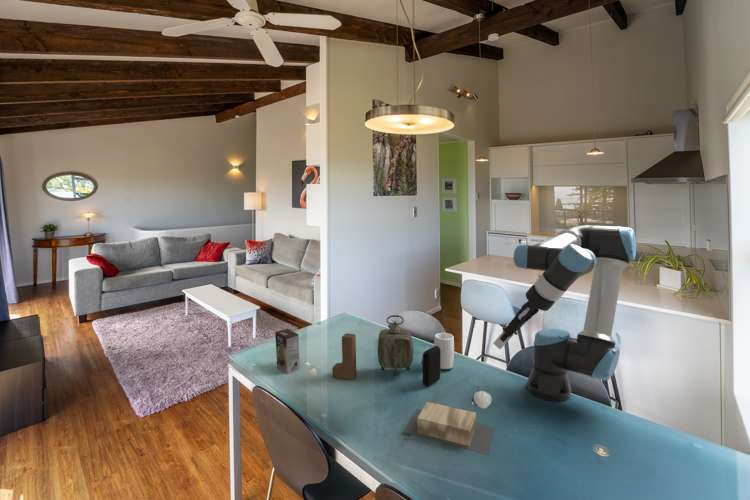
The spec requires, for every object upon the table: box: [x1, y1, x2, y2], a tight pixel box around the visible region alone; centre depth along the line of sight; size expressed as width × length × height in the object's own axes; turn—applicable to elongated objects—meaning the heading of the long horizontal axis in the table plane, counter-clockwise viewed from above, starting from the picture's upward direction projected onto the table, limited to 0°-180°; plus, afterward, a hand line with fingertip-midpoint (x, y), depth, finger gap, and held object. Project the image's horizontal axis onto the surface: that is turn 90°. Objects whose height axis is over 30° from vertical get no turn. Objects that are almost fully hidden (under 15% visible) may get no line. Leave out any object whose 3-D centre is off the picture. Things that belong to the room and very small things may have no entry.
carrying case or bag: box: [421, 345, 441, 388], centre depth 150 cm, size 11×3×15 cm, turn 134°
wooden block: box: [331, 332, 357, 381], centre depth 157 cm, size 9×4×18 cm, turn 72°
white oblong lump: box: [473, 390, 492, 410], centre depth 138 cm, size 12×6×6 cm, turn 163°
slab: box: [417, 401, 477, 446], centre depth 121 cm, size 5×10×16 cm
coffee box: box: [274, 328, 301, 375], centre depth 165 cm, size 9×6×16 cm
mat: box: [402, 408, 496, 456], centre depth 121 cm, size 26×14×1 cm, turn 65°
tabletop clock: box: [377, 314, 414, 377], centre depth 158 cm, size 14×9×25 cm, turn 88°
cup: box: [433, 332, 455, 370], centre depth 164 cm, size 8×8×14 cm
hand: (497, 345), depth 121 cm, fingers closed
